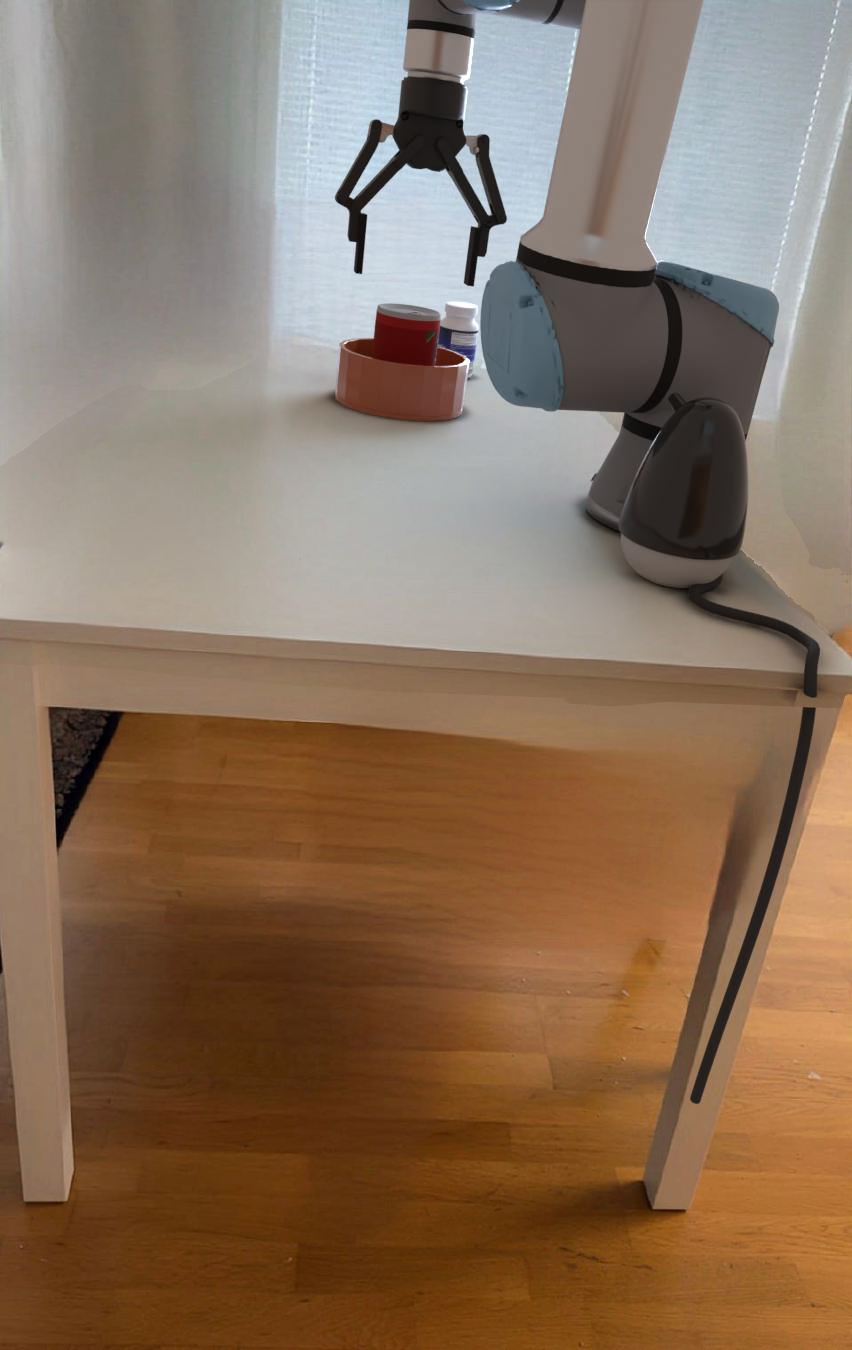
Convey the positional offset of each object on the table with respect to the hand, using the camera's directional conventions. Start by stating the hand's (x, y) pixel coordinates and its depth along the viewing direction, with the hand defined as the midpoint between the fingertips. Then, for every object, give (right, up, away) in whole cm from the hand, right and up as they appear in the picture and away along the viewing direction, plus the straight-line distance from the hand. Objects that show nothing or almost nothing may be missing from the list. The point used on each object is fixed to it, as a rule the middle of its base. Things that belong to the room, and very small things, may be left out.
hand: (413, 279), depth 129 cm
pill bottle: (+5, -4, +28) cm, 29 cm away
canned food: (-2, -13, +7) cm, 15 cm away
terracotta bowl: (-2, -13, +7) cm, 15 cm away
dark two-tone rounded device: (+22, -40, -38) cm, 59 cm away
